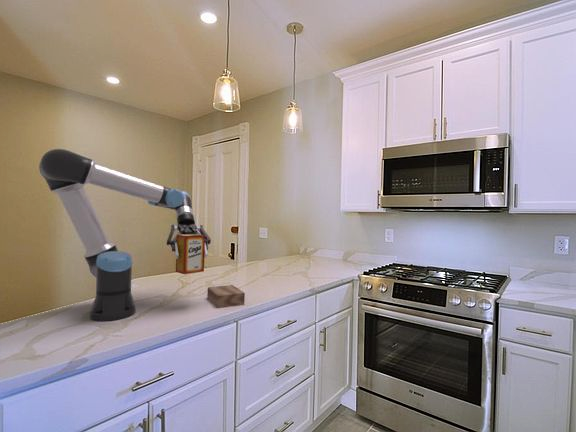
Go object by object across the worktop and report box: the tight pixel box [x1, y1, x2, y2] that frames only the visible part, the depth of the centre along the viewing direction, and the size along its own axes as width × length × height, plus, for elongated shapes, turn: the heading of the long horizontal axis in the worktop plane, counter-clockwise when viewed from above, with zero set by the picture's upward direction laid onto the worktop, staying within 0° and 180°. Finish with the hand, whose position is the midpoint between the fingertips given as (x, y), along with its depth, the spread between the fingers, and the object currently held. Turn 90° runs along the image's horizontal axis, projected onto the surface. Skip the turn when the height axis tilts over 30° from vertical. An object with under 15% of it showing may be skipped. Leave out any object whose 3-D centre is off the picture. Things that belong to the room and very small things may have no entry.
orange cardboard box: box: [175, 233, 205, 275], centre depth 129 cm, size 10×6×16 cm
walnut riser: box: [206, 284, 246, 309], centre depth 137 cm, size 12×16×5 cm
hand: (191, 256), depth 127 cm, fingers closed on orange cardboard box, 11 cm apart
